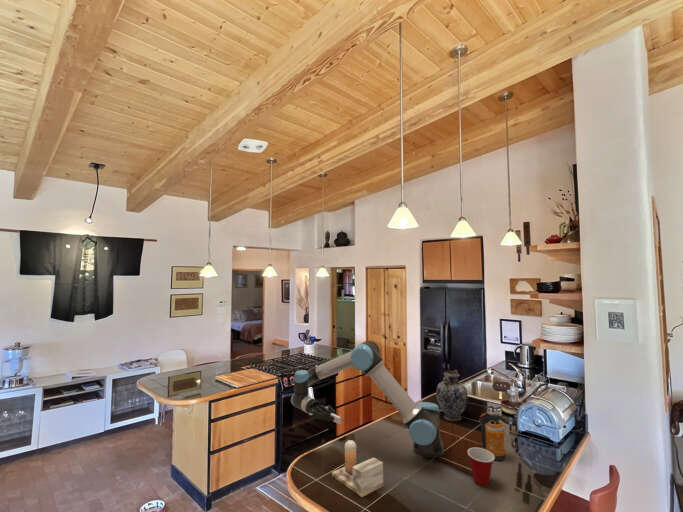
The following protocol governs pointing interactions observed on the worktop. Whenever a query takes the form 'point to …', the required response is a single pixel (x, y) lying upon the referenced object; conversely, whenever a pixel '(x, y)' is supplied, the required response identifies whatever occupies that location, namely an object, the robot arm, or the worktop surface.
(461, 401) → the decorative vase
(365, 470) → the knob mount
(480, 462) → the plastic cup
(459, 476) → the worktop surface
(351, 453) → the plunger knob
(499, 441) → the canister
